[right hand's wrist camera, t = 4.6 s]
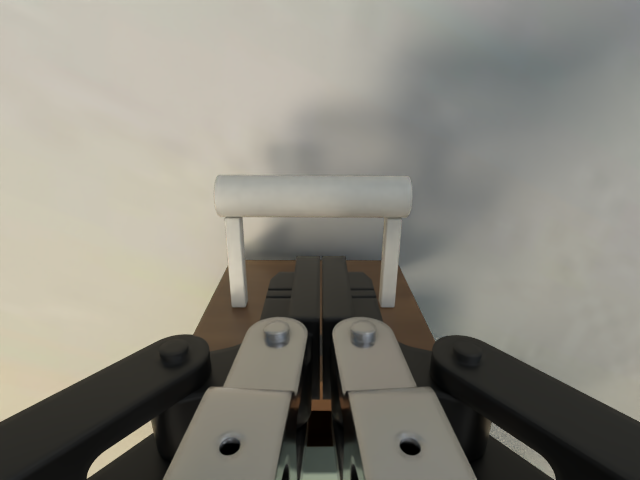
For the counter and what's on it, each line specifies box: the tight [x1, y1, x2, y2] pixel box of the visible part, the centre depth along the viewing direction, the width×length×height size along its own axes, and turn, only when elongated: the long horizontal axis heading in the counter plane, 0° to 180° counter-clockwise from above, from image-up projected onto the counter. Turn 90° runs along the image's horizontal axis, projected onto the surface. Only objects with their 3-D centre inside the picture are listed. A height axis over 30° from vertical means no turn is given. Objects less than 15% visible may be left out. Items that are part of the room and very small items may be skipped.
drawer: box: [193, 175, 435, 447], centre depth 18 cm, size 17×9×9 cm, turn 0°
